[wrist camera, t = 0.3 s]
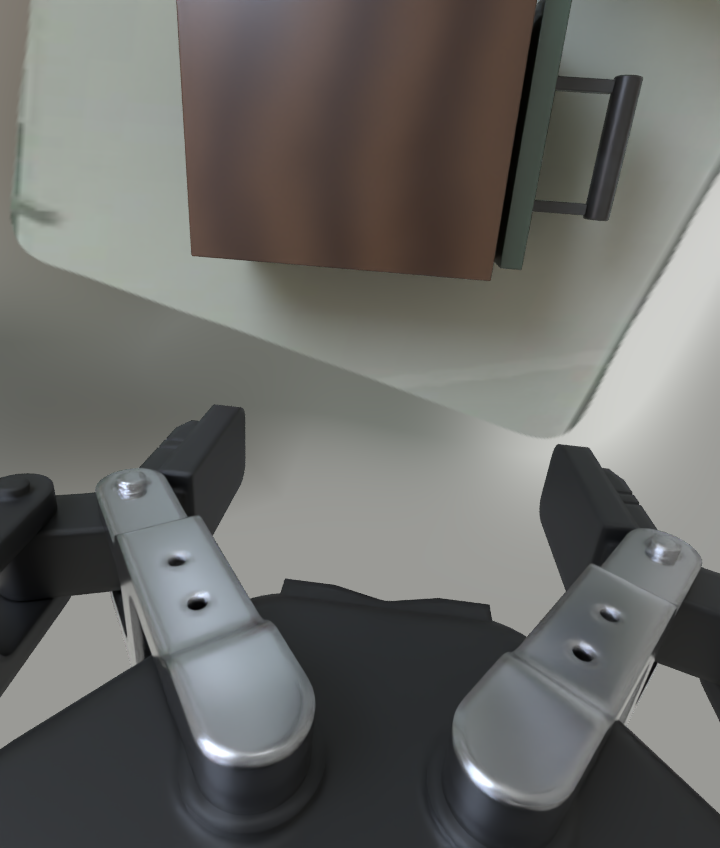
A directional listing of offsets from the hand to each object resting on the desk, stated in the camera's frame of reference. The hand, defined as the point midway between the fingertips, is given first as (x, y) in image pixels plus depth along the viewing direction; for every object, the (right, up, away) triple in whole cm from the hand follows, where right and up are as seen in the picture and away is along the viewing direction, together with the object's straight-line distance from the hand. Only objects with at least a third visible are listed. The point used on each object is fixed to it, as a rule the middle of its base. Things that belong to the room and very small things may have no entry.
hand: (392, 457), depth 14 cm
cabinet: (-1, +20, +22) cm, 29 cm away
